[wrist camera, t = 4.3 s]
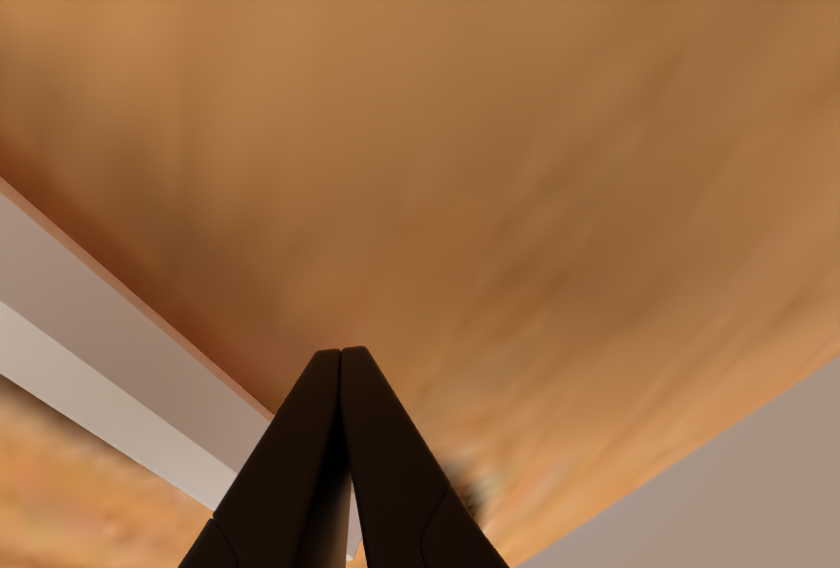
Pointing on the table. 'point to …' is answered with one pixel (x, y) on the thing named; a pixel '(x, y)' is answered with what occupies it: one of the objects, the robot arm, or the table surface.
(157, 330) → the beige long bar
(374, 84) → the table surface
